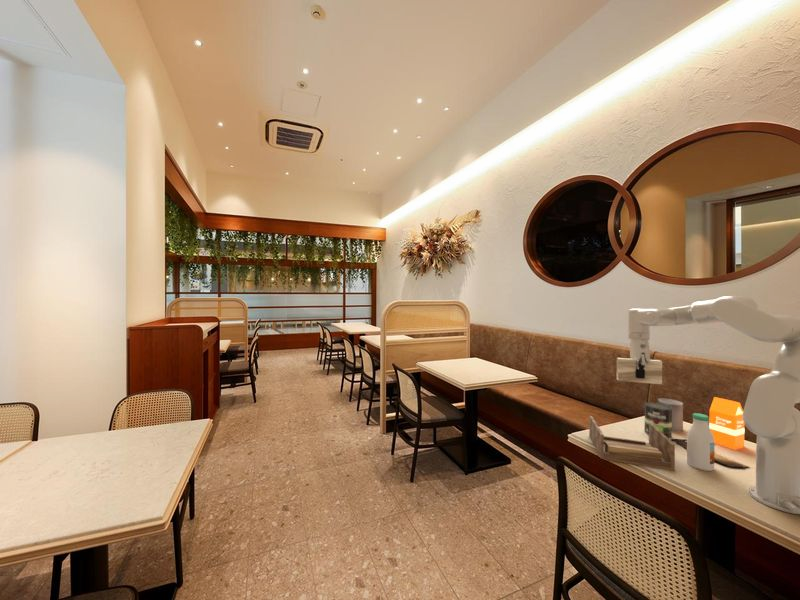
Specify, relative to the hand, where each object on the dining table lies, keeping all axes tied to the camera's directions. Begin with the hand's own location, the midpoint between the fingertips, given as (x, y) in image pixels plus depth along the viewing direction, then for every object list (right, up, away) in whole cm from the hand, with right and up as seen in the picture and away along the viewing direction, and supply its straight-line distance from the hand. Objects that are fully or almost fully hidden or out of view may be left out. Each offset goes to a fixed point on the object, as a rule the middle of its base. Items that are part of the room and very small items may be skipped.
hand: (638, 376), depth 140 cm
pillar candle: (+29, -30, +17) cm, 45 cm away
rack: (-11, -30, -8) cm, 33 cm away
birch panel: (0, -2, 0) cm, 2 cm away
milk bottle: (+10, -31, -19) cm, 37 cm away
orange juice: (+39, -31, 0) cm, 50 cm away
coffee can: (+16, -30, +9) cm, 35 cm away
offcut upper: (-13, -27, -14) cm, 33 cm away
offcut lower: (-13, -29, -13) cm, 34 cm away
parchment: (+27, -30, -8) cm, 41 cm away
